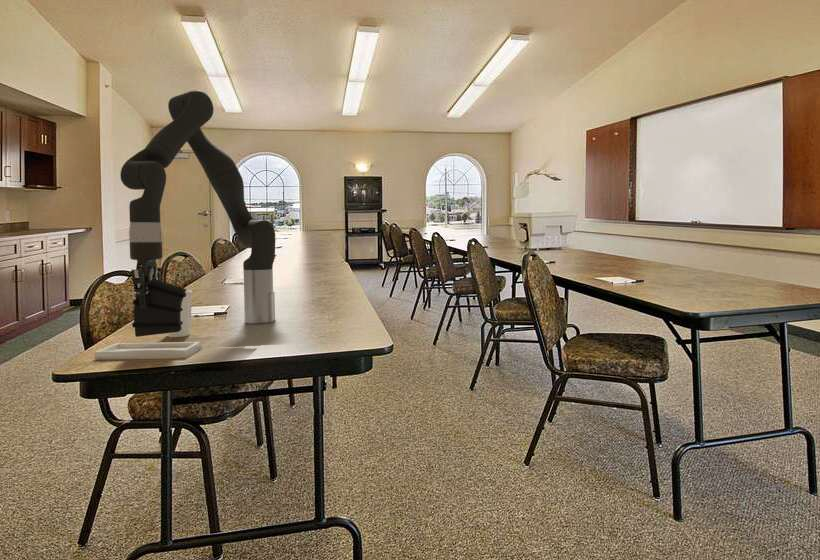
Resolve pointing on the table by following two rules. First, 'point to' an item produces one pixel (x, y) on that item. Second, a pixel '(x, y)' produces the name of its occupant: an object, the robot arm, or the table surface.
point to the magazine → (159, 310)
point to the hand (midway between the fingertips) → (148, 307)
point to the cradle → (148, 350)
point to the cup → (184, 317)
